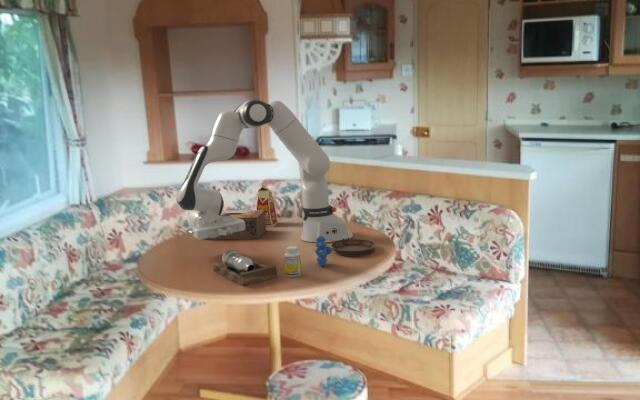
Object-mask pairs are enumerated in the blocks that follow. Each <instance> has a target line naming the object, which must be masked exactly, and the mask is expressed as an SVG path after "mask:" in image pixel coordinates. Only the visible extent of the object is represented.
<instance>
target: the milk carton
mask: <svg viewBox="0 0 640 400" xmlns="http://www.w3.org/2000/svg"><path fill="white" fill-rule="evenodd" d="M256 210H264V212H265V228H274V227H275V226H276V225H277V224H278V216H277V212H276V211H277V210H276V206H275V200H274V197H273V191H272V190H271V189H269V188H268V187H267V185H266V184H265V185H264V184H261V187H260V188H259V189H258V191H257V198H256Z"/></svg>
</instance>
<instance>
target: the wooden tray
mask: <svg viewBox="0 0 640 400" xmlns="http://www.w3.org/2000/svg"><path fill="white" fill-rule="evenodd" d="M251 260H252V262H253V264H254V265H255V266H256V270H253V271H249V272H245V273H241V274H239V273H238V272H237V271H236V270H235V269H233V268H228V267H224V266H222V265H220V264H219V263H214V264H213V263H212V271H213V272H215V273H217V274H219V275H221V276H223V277H225V278H226V279H228V280H230V281H232V282H234V283H236V284H238V285H240V286H242V287H245V286H247V285H252V284H255V283H256V284H257V283H258V282H264V281H266V280H271V279H274V278H277V277H278V274H277V273H278V272H277V265H275V264H273V265H269V266H267V265H265V264H262V263H260V262H258V261H257V260H254V259H251Z"/></svg>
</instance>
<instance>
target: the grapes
mask: <svg viewBox="0 0 640 400" xmlns="http://www.w3.org/2000/svg"><path fill="white" fill-rule="evenodd" d="M325 240H326V239H325V238H324V237H323V236H318V238H317V239H316V241H317V242H315V243H316V244H315V247H316V249H315V251H314V252H315V255H317V256H318V257H317V258H316V261H317V264H318V265H319V266H320V267H324V266H325V265H327V261H328V259H327V257H328V255H331V253H332V252H333V251H334V250H333V249H332V247H331V246H329V245H327V243H325Z"/></svg>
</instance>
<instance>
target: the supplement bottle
mask: <svg viewBox="0 0 640 400" xmlns="http://www.w3.org/2000/svg"><path fill="white" fill-rule="evenodd" d="M285 249H286V250H285V251H286V252H285V253H284V265H285V267H284V268H285V269H284V270H285V275H286V276H287V277H289V278H296V277H299V276H301V274H302V266H301V263H302V262H301V253H300V251H298V250H299V249H298V246H296V245H289V246H287V247H286V248H285Z"/></svg>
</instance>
